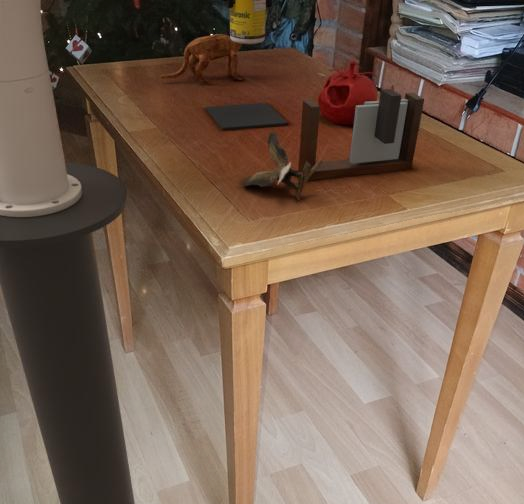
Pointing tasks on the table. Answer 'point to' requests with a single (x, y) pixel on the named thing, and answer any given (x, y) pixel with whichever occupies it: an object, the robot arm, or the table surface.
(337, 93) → the pomegranate
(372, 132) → the sliding panel with handle
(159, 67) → the table surface
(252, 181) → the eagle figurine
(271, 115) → the rubber mat
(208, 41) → the cat figurine
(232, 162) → the table surface
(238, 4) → the supplement bottle
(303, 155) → the dark brown u-shaped frame
